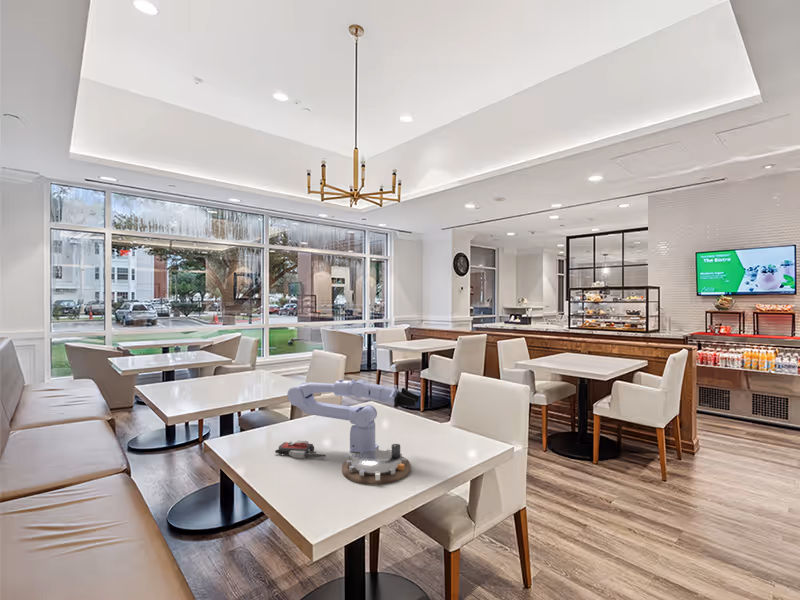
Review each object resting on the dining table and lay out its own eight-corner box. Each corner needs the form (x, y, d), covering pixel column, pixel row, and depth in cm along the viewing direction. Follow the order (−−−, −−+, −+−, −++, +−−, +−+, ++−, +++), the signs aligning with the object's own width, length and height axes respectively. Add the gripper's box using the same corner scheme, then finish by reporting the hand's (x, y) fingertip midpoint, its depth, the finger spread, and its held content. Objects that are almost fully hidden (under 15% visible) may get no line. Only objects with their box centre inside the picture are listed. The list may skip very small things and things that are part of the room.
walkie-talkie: (272, 457, 146) (324, 461, 143) (272, 445, 146) (324, 448, 143) (282, 448, 155) (332, 451, 151) (282, 437, 155) (332, 440, 151)
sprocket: (339, 475, 127) (339, 457, 127) (356, 451, 146) (356, 436, 146) (400, 479, 124) (400, 461, 124) (409, 454, 143) (409, 439, 143)
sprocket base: (332, 481, 126) (332, 472, 126) (353, 453, 148) (353, 445, 148) (404, 487, 122) (404, 477, 122) (414, 457, 144) (414, 449, 144)
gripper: (378, 385, 145) (415, 393, 142) (388, 380, 159) (421, 387, 156) (375, 405, 144) (412, 413, 141) (385, 398, 159) (419, 405, 156)
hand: (417, 400), depth 149 cm, fingers open, 7 cm apart
